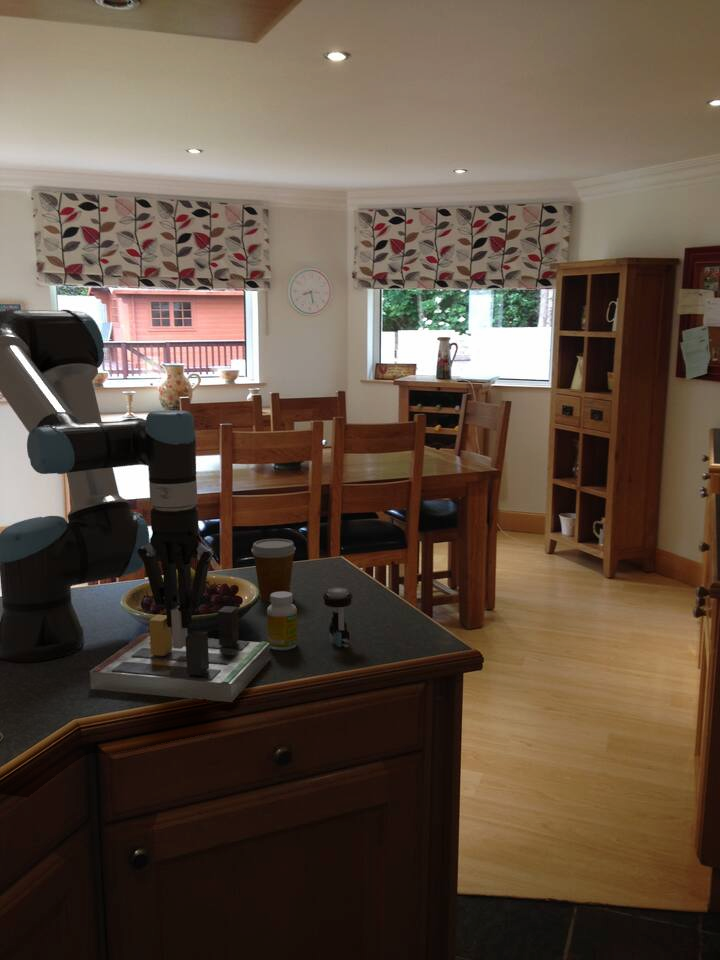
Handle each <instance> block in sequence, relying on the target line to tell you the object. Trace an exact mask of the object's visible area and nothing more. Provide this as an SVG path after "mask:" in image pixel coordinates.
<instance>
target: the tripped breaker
mask: <svg viewBox="0 0 720 960" xmlns="http://www.w3.org/2000/svg"><path fill="white" fill-rule="evenodd" d="M148 620H149V622H148V623H149V633H150V646H151V655H161V656H165V655H166V654H167V653H168V652H170V651H171V650H172V627H168V625H167V615H162V614H156V615H154V616H153V617H152V618H150V619H148Z"/></svg>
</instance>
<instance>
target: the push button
mask: <svg viewBox="0 0 720 960" xmlns="http://www.w3.org/2000/svg"><path fill="white" fill-rule="evenodd" d="M322 598H323V600H324V605H325V606H326V607H328V608H330V609H331V614H332V615H331V616H332V617H331V622H330V623H329V626H328V627H329V629H328V630H329V635H328V638H329V643H330V644H332V645H333V644H334V645H336V647H338V648H341V647H344V648H349V645H348V643H349V642H350V641H349V640H350V631H349V630H348V629H347V625H348V624H347V622H346V620H345V609H346V608H347V607H349V606H350V605H351V604H352V599H353V594H352V593H351V592H349V591H348V588H345V587H330V588H329V589H328V590H327V592H325V593H324V594H323V595H322Z"/></svg>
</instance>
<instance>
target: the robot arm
mask: <svg viewBox="0 0 720 960" xmlns="http://www.w3.org/2000/svg"><path fill="white" fill-rule="evenodd" d="M104 348H105V344H104V338H103V336H102V331H101V330H100V328H99V325H98V324H97V322H96V321H95V319H94V318H93V317H92V316H90V315H89V314H87V313H86V312H83V311H77V310H76V311H75V310H74V311H73V310H69V309H60V310H47V309H45V310H39V309H37V310H35V309H33V310H31V309H27V310H26V309H6V310H5V309H4V310H1V311H0V394H1V395H2V396H3V398H4V399H5V400H6V402H7V403H8V404H9V406H10V408H11V409H12V411H13V413H14V414H15V415H16V416H17V418H18V419H19V420H20V422H21V423H22V425H23V426H24V428H25V429H26V430H27V432H28V435H27V440H26V451H27V456H28V459H29V461H30V466H31V467H32V469H33V470H34V471H35V472H37V473H38V474H41V475H48V474H53V475H54V474H57V475H64V474H66V478H67V482H68V486H69V491H70V494H71V501H72V504H73V505H72V508H71V510H69V512H68V513H67V514H66V515H67V520H66V518H65V517H64V516H60V515H47V516H43V517H42V516H38V517H32V518H28V519H23V520H20V521H17V522H15V523H13V524H10V525H8V526H7V527H5V528H4V529H3V530H2V531H0V589H1V601H2V602H1V603H2V604H1V605H2V613H1V616H0V659H1V660H4V661H8V662H15V663H16V662H17V663H34V662H43V661H49V660H53V658H54V659H57V657H58V658H60V656H62V657H64V655H65V656H67V655H66V654H68V653H70V654H72V653H74V652H76V651H78V650H79V649H80V648H79V647H80V646H81V645H82V644H83V643H85V639H84V638H85V636H84V635H85V634H84V629H83V627H82V626H81V622H80V620H79V618H78V615H77V613H76V609H75V608H74V606H73V602H72V592H71V591H72V590H71V587H73V586H76V585H78V586H79V585H83V584H89V583H92V582H94V583H95V582H99V581H103V580H109V579H113V578H114V579H115V578H116V579H120V578H122V577H123V576H128V575H132V574H135V573H138V572H139V571H140V570H141V569H142V568H144V569H145V572H146V576H147V579H148V582H149V587H150V591H151V594H152V597H153V601H154V603H155V605H157V606H162V607H163V606H164V607H165V608H166V613H167V625H168V627H171V634H172V641H173V648H178V649H181V648H183V647H184V646H185V645H186V638H185V637H187V636H188V635H189V633H188V628H190V626H192V623H193V620H192V619H193V618H192V617H193V616H192V608H194V607H196V606H198V605H199V604H201V603H202V602H203V598H204V593H205V588H206V583H207V576H208V572H209V567H210V562H211V561H212V558H214V556H215V553H216V550H215V549H214V548H213V547H207V546H206V545H204V544H203V543H202V538H201V537H200V534H199V510H198V507H197V506H196V505H197V503H198V502H199V499H198V487H197V486H198V485H197V484H198V483H197V450H196V448H197V445H196V437H197V433H196V431H195V422H194V416H193V414H192V413H191V412H190V411H187V410H176V409H175V410H173V409H171V410H170V409H169V410H155V411H150V412H149V413H148V414H147V415H146V417H145V418H146V419H144V418H143V417H140V418H139V417H137V418H135V417H134V418H125V419H123V420H120V421H117V420H116V421H109V422H105V421H104V422H103V420H102V416H101V412H100V408H99V403H98V400H97V396H96V392H95V387H94V384H93V383H94V382H93V381H94V380H95V378H96V377H97V375H98V374H99V368H100V367H101V366H102V364H103V362H104V359H105V358H104V357H105V352H104ZM141 465H142V466H147V468H148V482H149V483H148V485H149V503H150V506H152V509H151V510H150V528H151V532H152V534H151V537H150V531H149V527H148V523H147V520H146V519H145V518H144V516H143V515H142V514H141V513H139V512H136V511H132V508H131V505H130V504H131V503H130V501H128V500H127V499H125V498H123V497H122V496H121V495H120V493H119V488H118V484H117V479H116V476H115V471H114V468H121V467H130V466H141ZM196 553H197V555H196V556H197V559H198V560H197V563H196V567H195V573H194V577H193V581H192V570H191V569H192V568H191V567H192V565H193V564H192V563H193V561H192V558H193V557H195V554H196ZM156 554H157V555H158V557H159V558H160V560H161V561H160V562H161V568H160V565H159V560H158V558H157V555H156ZM161 569H162V570H161ZM161 571H162V572H161ZM178 599H179V601H178ZM178 603H179V605H178V606H177V604H178ZM83 645H84V644H83ZM78 648H79V649H78ZM77 649H78V650H77ZM75 650H76V651H75ZM73 651H74V652H73ZM71 652H72V653H71ZM68 655H69V654H68Z"/></svg>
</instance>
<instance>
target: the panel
mask: <svg viewBox="0 0 720 960" xmlns="http://www.w3.org/2000/svg"><path fill="white" fill-rule="evenodd" d="M238 611H239V609H238V606H231V605H230V606H229V605H227V606H226V605H224V606H223V607H222V608H220V609H219V610H218V611H217V622H218V626H217V627H218V639H217V638H209V635H208V633H209V631H208V632H207V631H199V630H198V631H197V630H193V631H192V632H190V633H188V636H187V637H185V638H186V645H185V646H184V647H183V648H181V649H178V648H173V641H172V650H171V651H170V652H168V653H167V654H166V655H165V656H161V655H151V646H150V632H144V633H141V635H139V636H137V637H136V638H134V640H132V641H130V642H129V643H128V644H126V645H125V646H123V647H122V648H121V649H119V650H118V651H117V652H115V653H114V654H112V655H111V656H109V657H108V658H107V659H105V660H104V661H102V662H101V663H99V664H98V665H96V666H95V667H94V668H92V669H91V670H90V671H89V679H90V680H89V682H90V690H98V691H106V692H107V691H109V692H119V693H129V694H140V695H151V696H162V697H172V698H180V699H181V698H184V699H192V698H201V699H200V700H203V699H206V700H205V701H216V702H227V703H229V702H230V703H233V701H235V700H236V698H237V697H238V696H239V695H240V694H241V693H242V691H243V690H244V689H245V688H246V687H247V686H248V685H249V683H251V682H252V681H253V679H254V678H255V677H256V675H258V674H259V672H260V671H261V670H262V669H263V668H264V667H265V665H267V664H268V663H269V661H270V660H271V652H270V651H271V648H270V643H268V641H263V640H262V641H261V642H259V641H247V640H246V641H245V640H239V639H240V637H239V612H238ZM242 689H243V690H242ZM239 693H240V694H239Z"/></svg>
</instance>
